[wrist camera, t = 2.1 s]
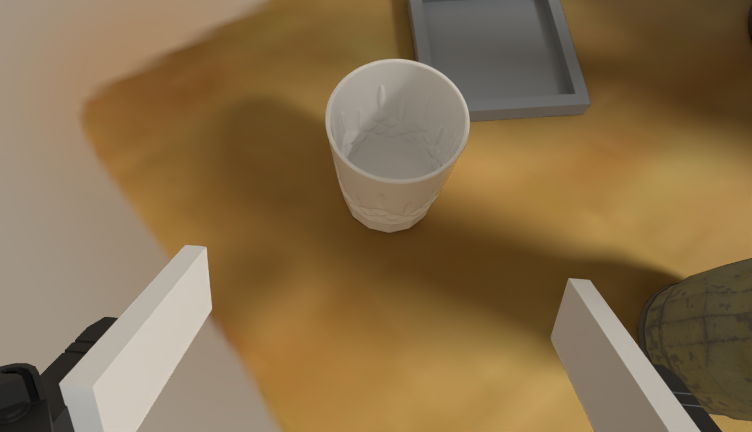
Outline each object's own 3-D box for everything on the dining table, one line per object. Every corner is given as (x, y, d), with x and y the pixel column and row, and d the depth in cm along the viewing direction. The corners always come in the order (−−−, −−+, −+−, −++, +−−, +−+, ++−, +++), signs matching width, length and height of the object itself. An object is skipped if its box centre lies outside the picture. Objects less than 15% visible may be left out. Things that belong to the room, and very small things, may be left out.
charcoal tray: (546, -7, 41) (553, -21, 39) (582, 114, 36) (591, 103, 35) (406, 0, 40) (407, -14, 39) (424, 124, 36) (427, 114, 34)
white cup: (319, 168, 34) (302, 88, 25) (410, 130, 35) (426, 40, 26) (363, 258, 32) (363, 207, 22) (459, 213, 33) (497, 147, 24)
